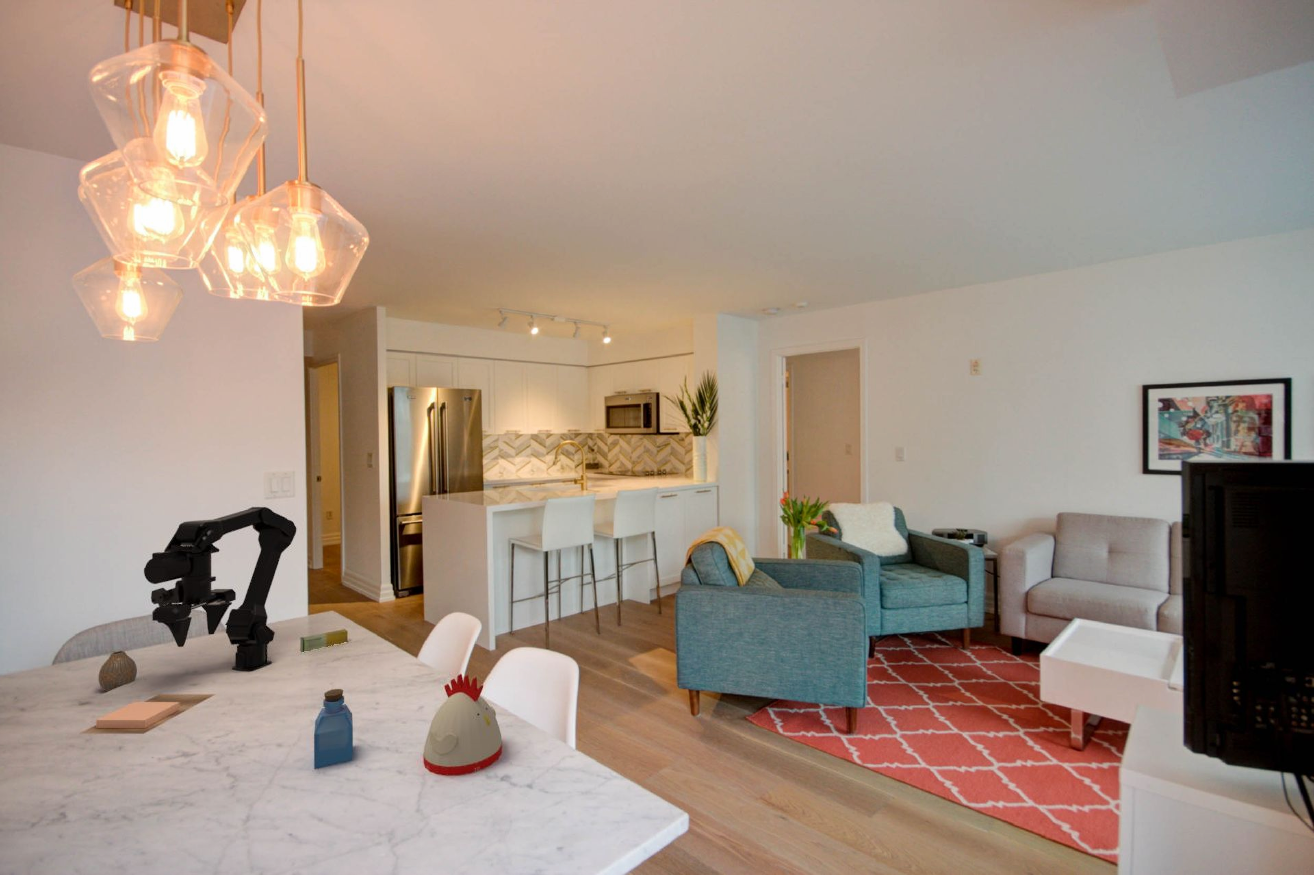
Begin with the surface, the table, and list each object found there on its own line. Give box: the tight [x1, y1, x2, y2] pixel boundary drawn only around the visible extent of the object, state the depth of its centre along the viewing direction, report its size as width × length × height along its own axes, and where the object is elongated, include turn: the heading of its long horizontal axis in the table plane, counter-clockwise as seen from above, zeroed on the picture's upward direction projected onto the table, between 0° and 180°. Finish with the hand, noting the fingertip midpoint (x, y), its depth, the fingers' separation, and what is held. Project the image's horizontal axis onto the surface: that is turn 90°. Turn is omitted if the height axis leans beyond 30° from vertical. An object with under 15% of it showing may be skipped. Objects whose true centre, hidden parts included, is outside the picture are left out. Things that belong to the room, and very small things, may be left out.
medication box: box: [299, 628, 349, 653], centre depth 176 cm, size 12×3×4 cm, turn 134°
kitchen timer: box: [422, 673, 503, 777], centre depth 114 cm, size 14×14×15 cm
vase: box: [98, 650, 138, 693], centre depth 146 cm, size 7×7×9 cm
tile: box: [95, 701, 179, 728], centre depth 126 cm, size 2×10×8 cm
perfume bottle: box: [313, 688, 354, 770], centre depth 113 cm, size 6×6×12 cm
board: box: [80, 693, 216, 735], centre depth 130 cm, size 19×13×2 cm
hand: (196, 640), depth 145 cm, fingers open, 9 cm apart
